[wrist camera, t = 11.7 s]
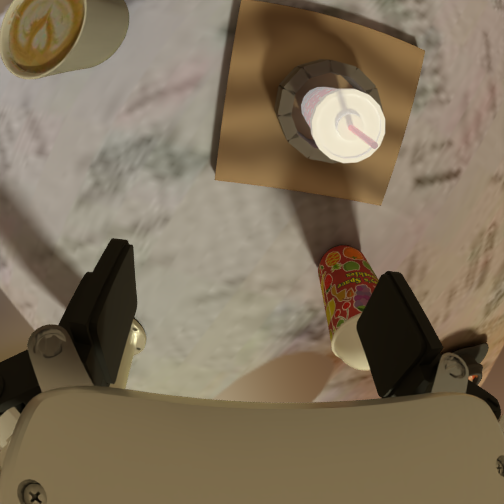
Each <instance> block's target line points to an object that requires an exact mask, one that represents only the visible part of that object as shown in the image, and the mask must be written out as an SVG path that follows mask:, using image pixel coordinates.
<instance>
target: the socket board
mask: <svg viewBox="0 0 504 504" xmlns="http://www.w3.org/2000/svg"><path fill="white" fill-rule="evenodd" d="M424 54H425V50H422V49H420V48H418V47H416V46H414V45H411V44H409V43H407V42H404V41H402V40H399V39H397V38H395V37H392V36H389V35H387V34H384V33H382V32H379V31H376V30H373V29H371V28H368V27H365V26H362V25H359V24H356V23H352V22H349V21H346V20H343V19H339V18H336V17H332V16H328V15H325V14H321V13H317V12H313V11H308V10H304V9H299V8H295V7H290V6H285V5H279V4H273V3H267V2H261V1H254V0H241V4H240V9H239V15H238V21H237V26H236V32H235V38H234V44H233V50H232V56H231V63H230V69H229V76H228V82H227V89H226V96H225V103H224V110H223V118H222V125H221V133H220V141H219V149H218V157H217V166H216V174H215V180H218V181H227V182H235V183H244V184H251V185H259V186H266V187H274V188H281V189H287V190H294V191H301V192H307V193H313V194H319V195H325V196H331V197H337V198H343V199H348V200H354V201H359V202H364V203H370V204H375V205H380V206H381V204H382V201H383V198H384V195H385V192H386V189H387V187H388V184H389V181H390V178H391V175H392V172H393V169H394V166H395V163H396V159H397V156H398V153H399V150H400V147H401V143H402V140H403V137H404V133H405V130H406V126H407V123H408V119H409V116H410V112H411V108H412V105H413V101H414V97H415V93H416V89H417V85H418V81H419V76H420V72H421V68H422V63H423V58H424ZM317 87H329V88H336V89H356V90H359V91H361V92H363V93H366V94H368V95H370V96H371V97H372V98H373V99H374V100H375V101H376V102H377V103H378V104H379V105H380V107H381V110H382V112H383V115H384V117H385V135H384V137H383V140H382V142H381V145H380V147H379V148H378V149H377V150H376V151H375V152H374V153H373V154H372V155H371V156H370V157H368V158H366V159H364V160H361V161H359V162H355V163H341V162H338V161H335V160H332V159H330V158H329V157H328V156H326V155H325V154H324V153H323V152H322V151H321V150H319V148H318V146H317V145H316V143H315V141H314V139H313V137H312V135H311V129H310V127H309V125H308V124H307V122H306V120H305V118H304V116H303V115H302V110H301V104H302V101H303V98H304V96H305V95H306V94H307V93H308V92H309V91H310V90H312V89H314V88H317Z"/></svg>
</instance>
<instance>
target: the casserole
mask: <svg viewBox="0 0 504 504" xmlns="http://www.w3.org/2000/svg"><path fill="white" fill-rule="evenodd" d="M487 352H488V344H487V343H482V344H479V345H476V346H474V347H468V348H463V349H460V350H457V351H454V352H452V353H454V354H456V355H458V356H459V357H461V358H462V359H463V361H464V362H465V363H466V365H467V367H468V370H469V377H468V379H469V380H470V381H472V382H473V383H475V384H476V385H478V384H479V382H480V381H481V379H482V369H483V367H482V365H481V364H480V363H481V362H482V360H483V359H484V358H485V356H486V354H487Z"/></svg>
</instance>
